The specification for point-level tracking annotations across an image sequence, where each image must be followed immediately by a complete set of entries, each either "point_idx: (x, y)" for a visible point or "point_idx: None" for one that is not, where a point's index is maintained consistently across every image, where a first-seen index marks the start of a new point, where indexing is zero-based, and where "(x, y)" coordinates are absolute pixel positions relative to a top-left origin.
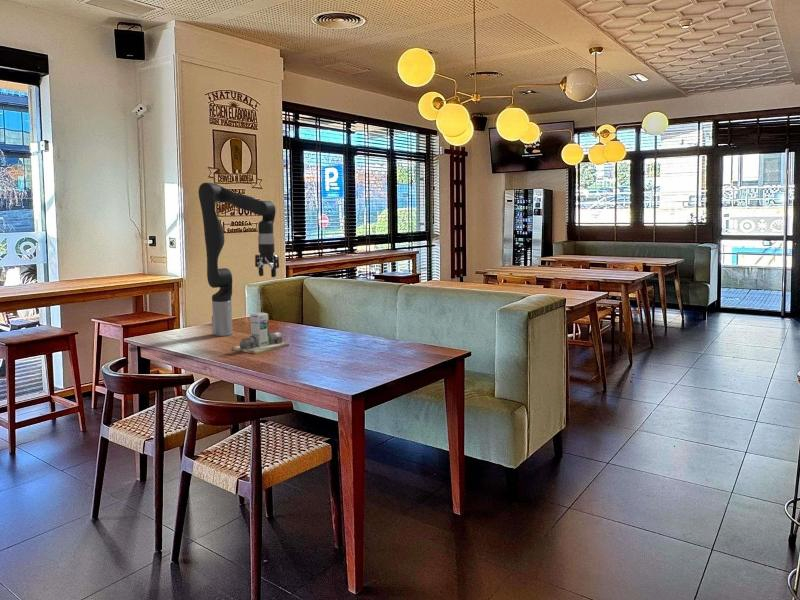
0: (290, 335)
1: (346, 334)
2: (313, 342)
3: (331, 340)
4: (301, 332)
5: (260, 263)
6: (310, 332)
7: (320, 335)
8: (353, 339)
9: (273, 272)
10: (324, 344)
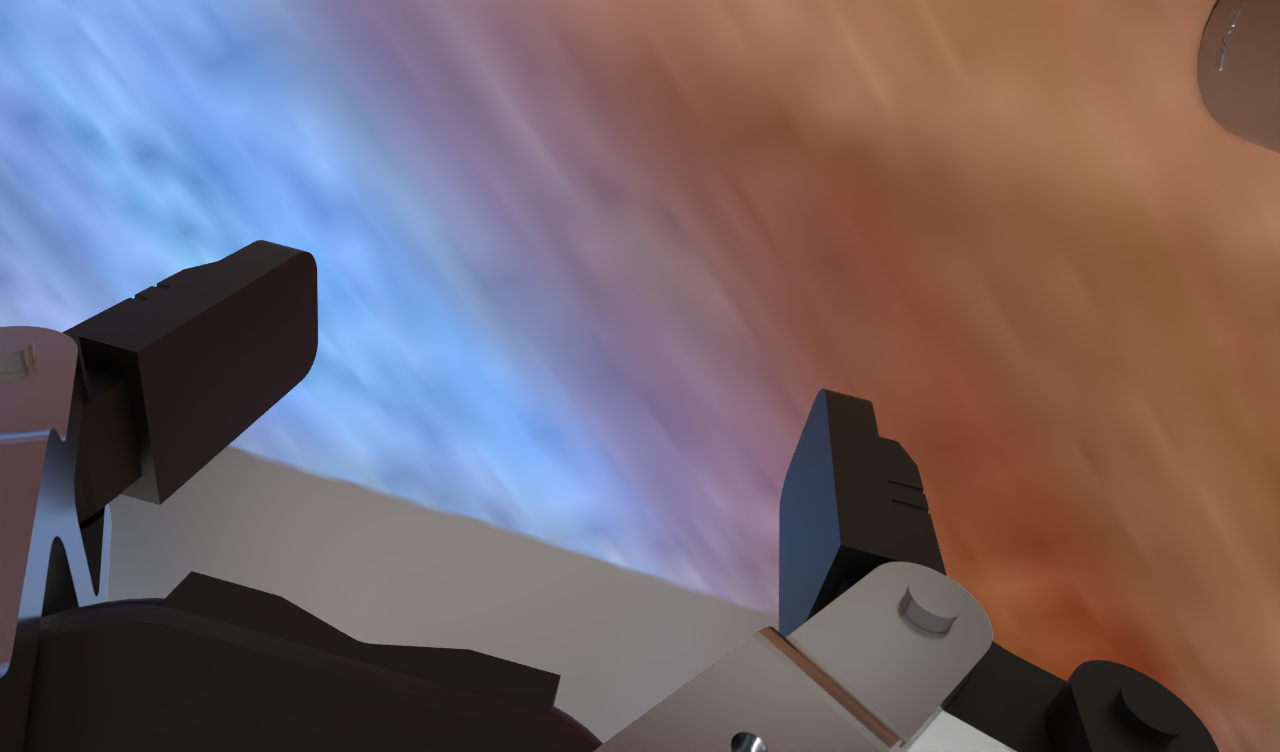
0: (589, 247)
1: None
2: (231, 52)
3: (179, 184)
4: (581, 381)
5: (718, 678)
6: (517, 401)
7: (378, 325)
8: (88, 274)
9: (131, 307)
10: (103, 14)
